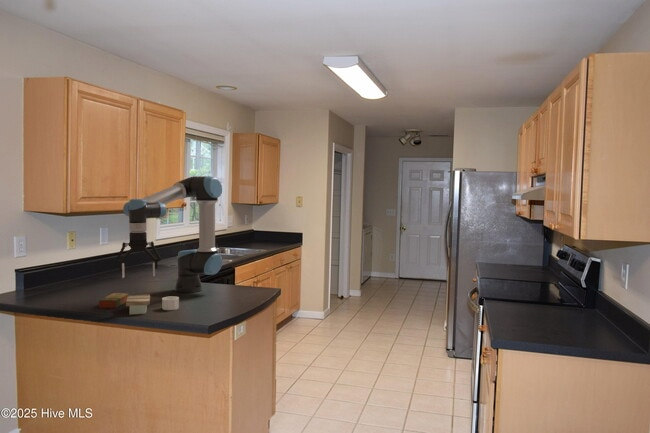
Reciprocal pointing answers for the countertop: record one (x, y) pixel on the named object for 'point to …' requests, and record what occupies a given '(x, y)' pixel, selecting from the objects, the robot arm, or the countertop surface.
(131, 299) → the maple board
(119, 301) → the carton
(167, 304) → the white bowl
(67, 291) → the countertop surface
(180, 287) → the robot arm
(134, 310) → the green stand
